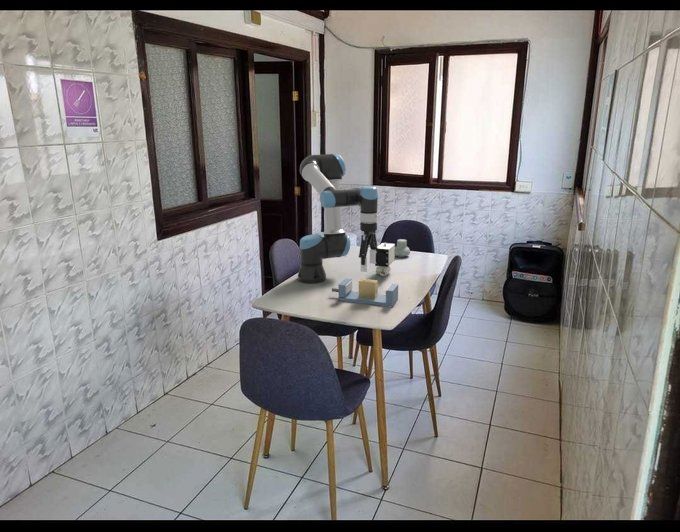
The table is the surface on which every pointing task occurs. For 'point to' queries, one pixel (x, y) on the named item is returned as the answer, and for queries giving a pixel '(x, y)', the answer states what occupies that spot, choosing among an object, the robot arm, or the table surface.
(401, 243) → the air freshener
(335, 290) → the free jaw
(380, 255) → the white pneumatic actuator
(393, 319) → the table surface
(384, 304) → the vise
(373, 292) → the wooden block
